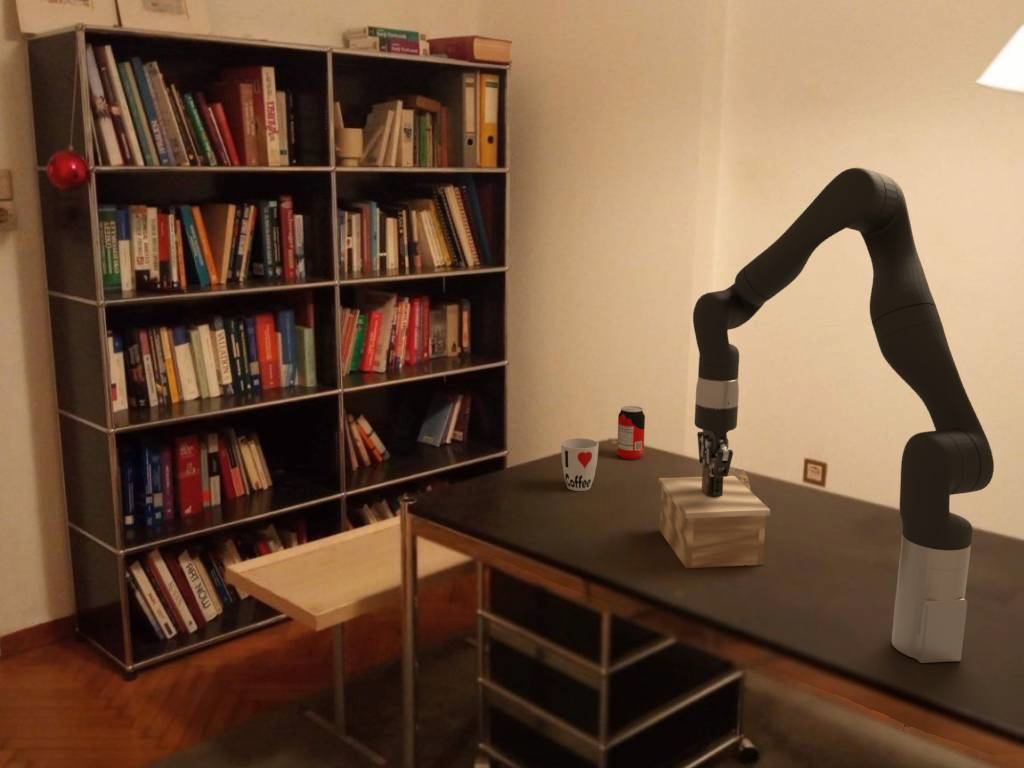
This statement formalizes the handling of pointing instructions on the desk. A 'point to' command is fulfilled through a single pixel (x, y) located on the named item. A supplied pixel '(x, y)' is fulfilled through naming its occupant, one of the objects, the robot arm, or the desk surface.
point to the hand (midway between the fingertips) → (711, 492)
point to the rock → (740, 476)
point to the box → (712, 537)
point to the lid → (699, 504)
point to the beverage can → (631, 432)
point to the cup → (579, 462)
